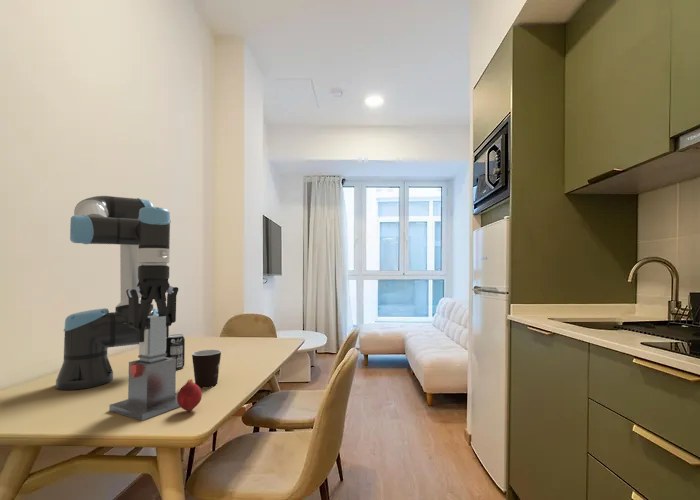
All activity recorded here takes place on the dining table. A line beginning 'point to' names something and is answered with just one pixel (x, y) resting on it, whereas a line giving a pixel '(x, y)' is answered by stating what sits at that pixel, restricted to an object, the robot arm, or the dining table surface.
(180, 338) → the beverage can
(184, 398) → the onion
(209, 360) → the coffee mug
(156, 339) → the column
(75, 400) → the dining table surface
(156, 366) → the stand
